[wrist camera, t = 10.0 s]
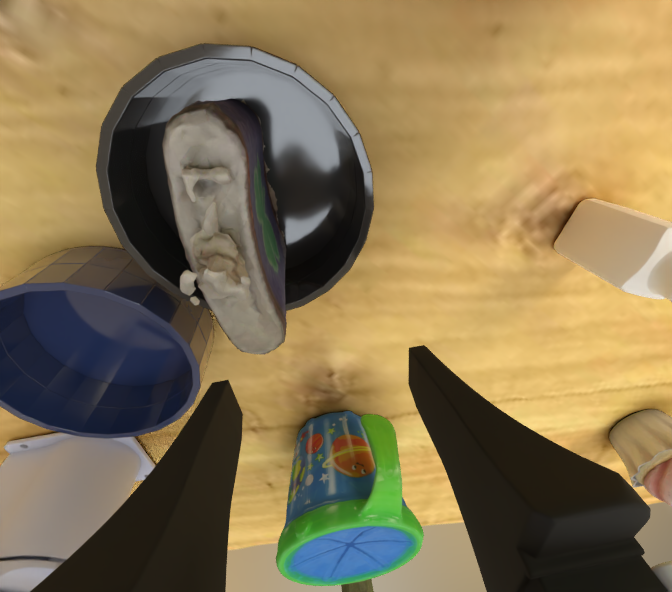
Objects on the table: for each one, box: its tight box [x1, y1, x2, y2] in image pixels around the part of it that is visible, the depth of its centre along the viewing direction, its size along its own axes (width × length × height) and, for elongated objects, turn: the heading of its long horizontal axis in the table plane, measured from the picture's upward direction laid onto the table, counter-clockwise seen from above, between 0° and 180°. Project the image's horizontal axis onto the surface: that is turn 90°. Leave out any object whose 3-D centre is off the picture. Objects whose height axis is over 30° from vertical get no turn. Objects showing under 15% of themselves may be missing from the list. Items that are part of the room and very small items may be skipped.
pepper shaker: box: [554, 198, 672, 302], centre depth 19 cm, size 4×4×10 cm
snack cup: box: [276, 411, 424, 586], centre depth 27 cm, size 16×10×10 cm
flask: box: [162, 98, 287, 354], centre depth 14 cm, size 9×3×11 cm, turn 5°
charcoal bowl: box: [96, 43, 374, 311], centre depth 17 cm, size 12×12×4 cm
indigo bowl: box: [0, 246, 214, 439], centre depth 20 cm, size 12×12×4 cm
